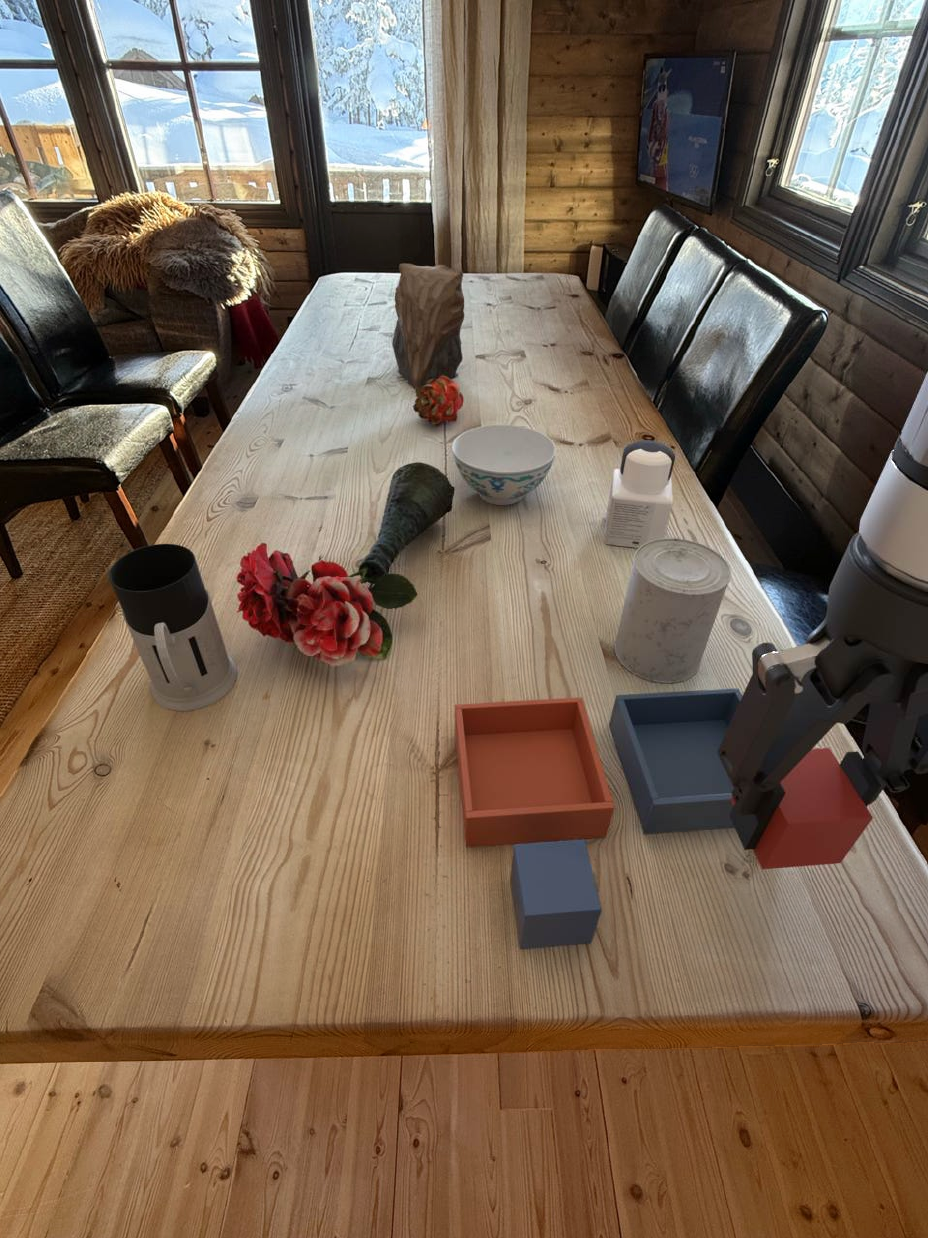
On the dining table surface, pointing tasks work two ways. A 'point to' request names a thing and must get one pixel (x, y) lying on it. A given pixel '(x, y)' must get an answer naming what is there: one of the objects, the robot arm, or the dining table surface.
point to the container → (640, 495)
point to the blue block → (554, 894)
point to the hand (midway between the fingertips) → (785, 828)
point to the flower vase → (345, 579)
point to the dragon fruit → (438, 400)
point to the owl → (428, 323)
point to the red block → (813, 816)
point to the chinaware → (503, 461)
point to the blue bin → (676, 757)
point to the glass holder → (173, 626)
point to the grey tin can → (670, 608)
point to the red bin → (530, 773)
